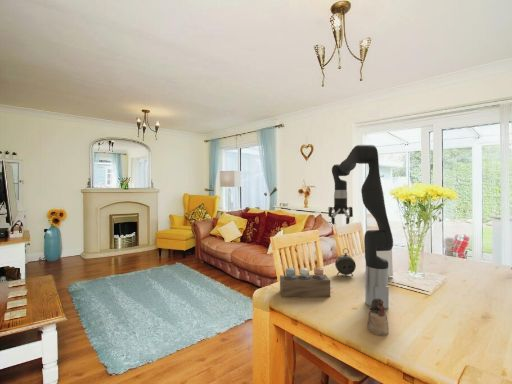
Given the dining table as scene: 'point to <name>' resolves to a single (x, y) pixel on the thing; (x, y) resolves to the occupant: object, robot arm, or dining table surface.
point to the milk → (388, 257)
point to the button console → (305, 286)
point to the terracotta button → (318, 271)
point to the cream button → (304, 271)
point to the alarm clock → (345, 264)
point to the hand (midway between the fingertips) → (340, 223)
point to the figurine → (377, 318)
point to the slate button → (290, 271)
